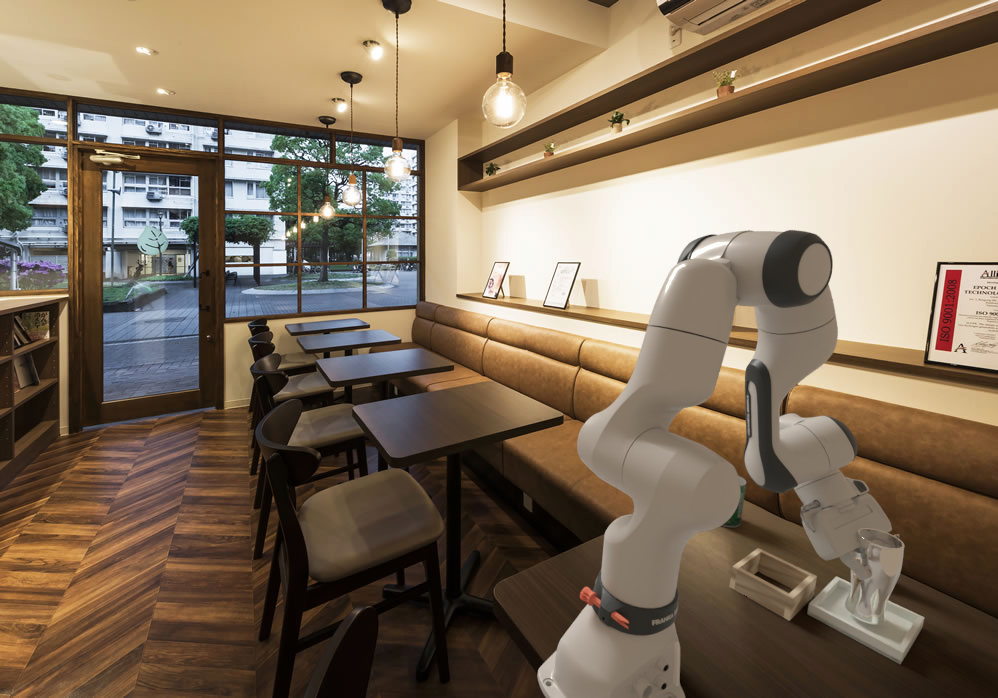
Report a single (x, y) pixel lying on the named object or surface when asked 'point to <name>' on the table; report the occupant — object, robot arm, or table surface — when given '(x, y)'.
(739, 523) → the canned tomato
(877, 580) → the beer glass
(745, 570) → the square frame
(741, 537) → the table surface
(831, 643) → the table surface
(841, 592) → the tray
